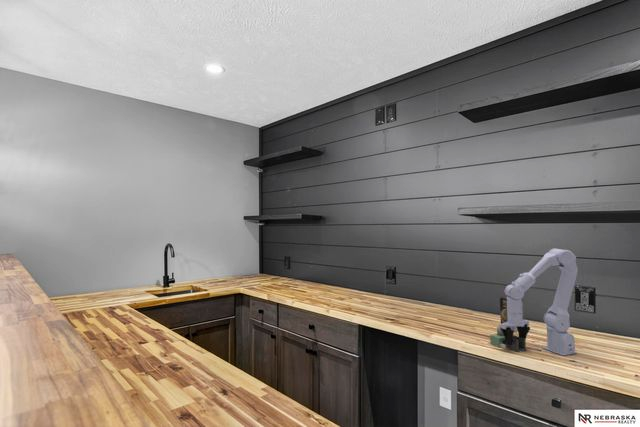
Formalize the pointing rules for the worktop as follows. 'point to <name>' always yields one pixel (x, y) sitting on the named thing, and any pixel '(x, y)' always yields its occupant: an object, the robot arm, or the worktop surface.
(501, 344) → the green base with knob
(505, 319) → the coffee box
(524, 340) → the chute
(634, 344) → the worktop surface
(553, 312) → the robot arm
